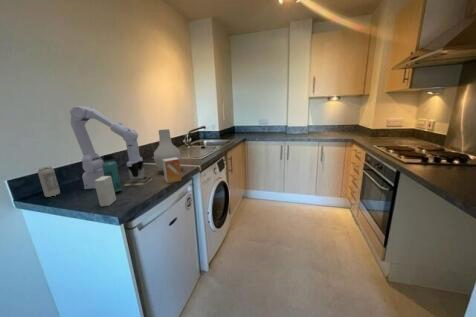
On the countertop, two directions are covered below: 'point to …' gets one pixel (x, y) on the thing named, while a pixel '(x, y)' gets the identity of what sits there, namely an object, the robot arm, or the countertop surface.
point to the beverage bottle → (112, 171)
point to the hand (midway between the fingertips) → (137, 175)
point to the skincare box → (105, 190)
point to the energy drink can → (48, 181)
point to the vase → (165, 148)
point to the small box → (172, 170)
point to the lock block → (140, 174)
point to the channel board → (138, 181)
